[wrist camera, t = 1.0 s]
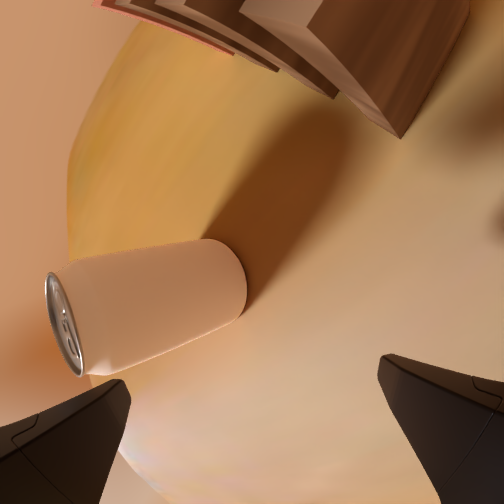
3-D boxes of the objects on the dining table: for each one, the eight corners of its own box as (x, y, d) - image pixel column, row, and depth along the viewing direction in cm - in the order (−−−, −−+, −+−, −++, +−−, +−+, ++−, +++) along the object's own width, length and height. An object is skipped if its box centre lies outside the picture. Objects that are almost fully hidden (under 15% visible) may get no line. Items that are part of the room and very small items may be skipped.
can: (233, 224, 20) (56, 246, 11) (263, 315, 20) (100, 391, 10) (178, 253, 24) (37, 279, 15) (202, 327, 24) (68, 380, 14)
